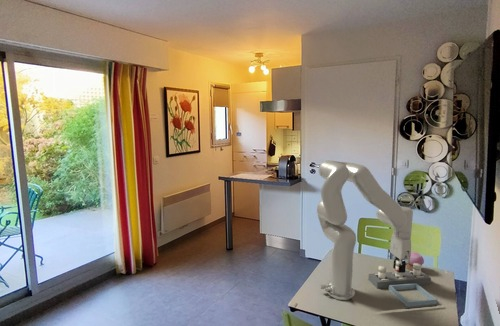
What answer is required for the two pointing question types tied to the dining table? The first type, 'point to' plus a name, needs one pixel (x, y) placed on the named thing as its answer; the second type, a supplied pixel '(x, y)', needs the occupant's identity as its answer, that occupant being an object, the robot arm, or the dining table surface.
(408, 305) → the tray
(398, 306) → the dining table surface
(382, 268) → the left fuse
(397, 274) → the cylinder
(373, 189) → the robot arm
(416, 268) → the right fuse
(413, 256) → the cupcake
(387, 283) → the fuse holder
